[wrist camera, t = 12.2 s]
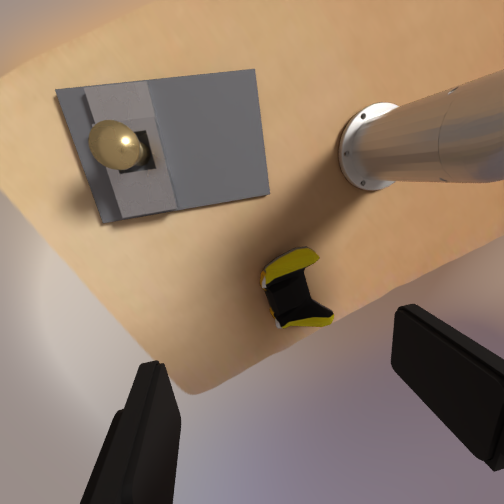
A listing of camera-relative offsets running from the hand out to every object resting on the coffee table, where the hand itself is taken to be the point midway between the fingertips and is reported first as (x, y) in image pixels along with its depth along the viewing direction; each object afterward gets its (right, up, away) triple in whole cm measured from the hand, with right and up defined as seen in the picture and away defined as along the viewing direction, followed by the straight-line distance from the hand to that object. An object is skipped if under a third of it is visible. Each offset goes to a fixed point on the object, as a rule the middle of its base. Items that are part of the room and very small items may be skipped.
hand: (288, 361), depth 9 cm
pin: (-16, +17, +22) cm, 32 cm away
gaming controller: (+5, -2, +34) cm, 34 cm away
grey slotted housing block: (-16, +17, +22) cm, 32 cm away
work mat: (-12, +18, +24) cm, 32 cm away
